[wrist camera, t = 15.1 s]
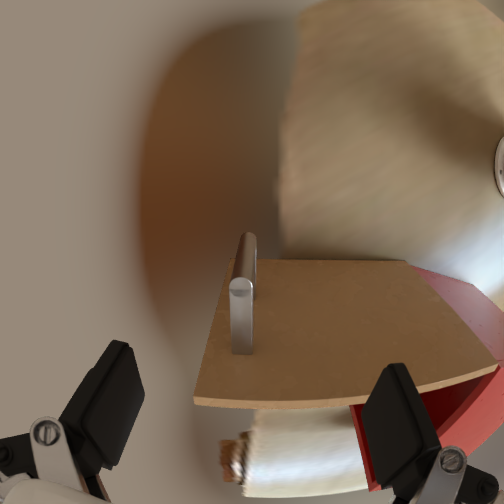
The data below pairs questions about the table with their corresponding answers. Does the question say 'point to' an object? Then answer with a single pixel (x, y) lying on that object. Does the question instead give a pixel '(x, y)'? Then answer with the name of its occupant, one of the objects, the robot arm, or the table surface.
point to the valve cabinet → (465, 393)
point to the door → (328, 333)
